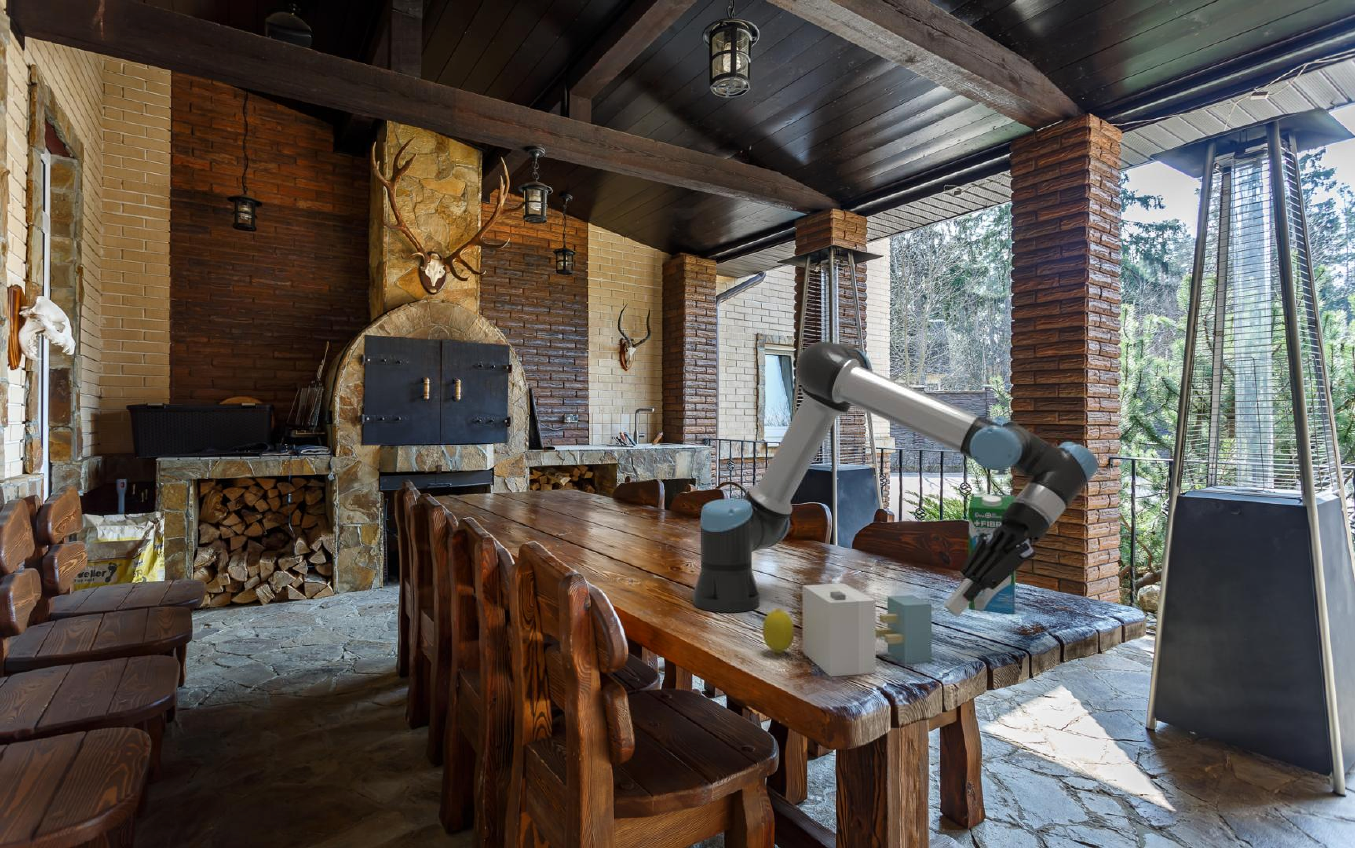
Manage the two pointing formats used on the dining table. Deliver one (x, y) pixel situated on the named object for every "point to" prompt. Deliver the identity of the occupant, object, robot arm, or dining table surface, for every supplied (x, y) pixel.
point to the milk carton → (981, 520)
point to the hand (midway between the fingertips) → (950, 611)
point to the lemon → (778, 631)
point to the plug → (908, 629)
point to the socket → (839, 629)
